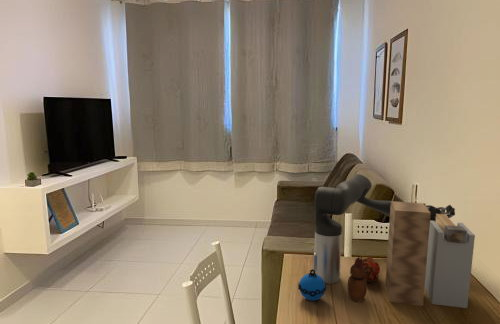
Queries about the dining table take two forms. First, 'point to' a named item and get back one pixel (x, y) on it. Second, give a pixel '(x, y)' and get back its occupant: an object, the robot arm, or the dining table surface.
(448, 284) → the grey post
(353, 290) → the wooden figurine
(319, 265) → the robot arm
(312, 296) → the ornament
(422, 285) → the walnut post
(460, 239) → the light wooden block
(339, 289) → the dining table surface
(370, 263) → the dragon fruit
